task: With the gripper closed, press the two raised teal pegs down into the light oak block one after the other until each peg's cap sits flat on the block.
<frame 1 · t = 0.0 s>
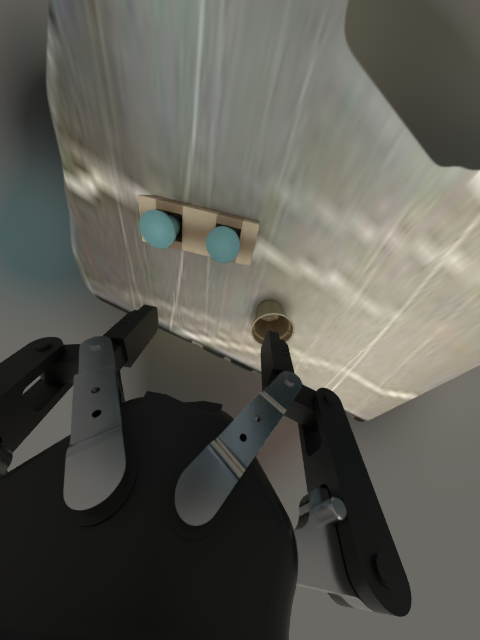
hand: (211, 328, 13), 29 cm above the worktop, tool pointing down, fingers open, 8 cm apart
oak block: (206, 228, 36), on the worktop
teal peg 2: (166, 227, 29), point 8 cm above the worktop, slide at 4.0 cm
flower pot: (269, 310, 46), on the worktop
teal peg 1: (225, 241, 30), point 8 cm above the worktop, slide at 4.0 cm
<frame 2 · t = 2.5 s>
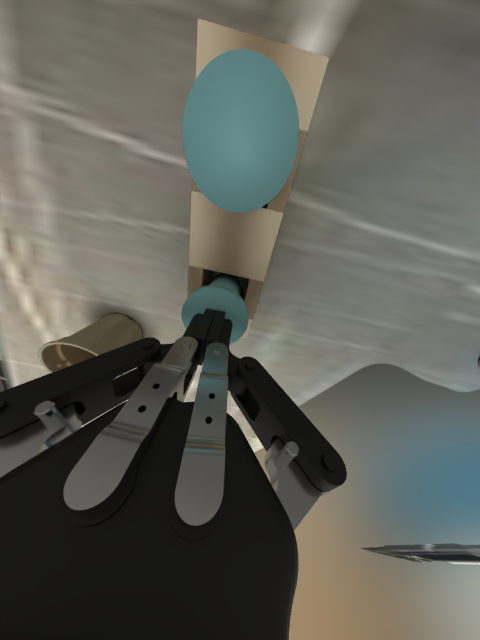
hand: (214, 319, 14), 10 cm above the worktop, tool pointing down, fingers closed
oak block: (237, 231, 20), on the worktop
teal peg 2: (243, 159, 11), point 8 cm above the worktop, slide at 4.0 cm
flower pot: (124, 328, 29), on the worktop
teal peg 1: (221, 300, 17), point 7 cm above the worktop, slide at 3.7 cm, touching gripper
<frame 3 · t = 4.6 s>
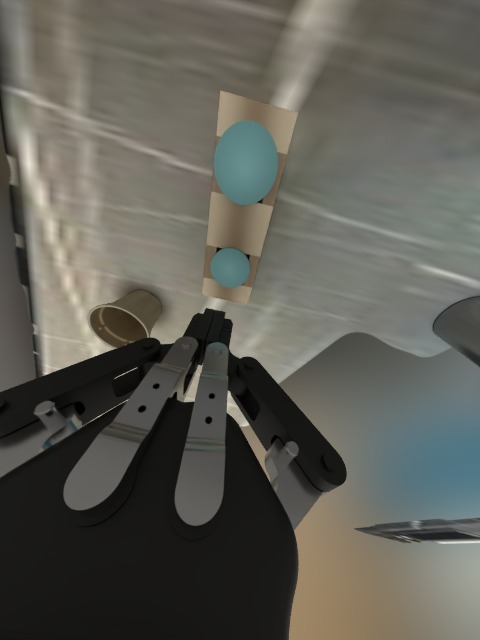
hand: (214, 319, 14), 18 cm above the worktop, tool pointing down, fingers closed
oak block: (240, 221, 26), on the worktop
teal peg 2: (246, 172, 17), point 8 cm above the worktop, slide at 4.0 cm
flower pot: (146, 303, 35), on the worktop
teal peg 1: (232, 262, 26), point 3 cm above the worktop, slide at 0.0 cm, touching oak block
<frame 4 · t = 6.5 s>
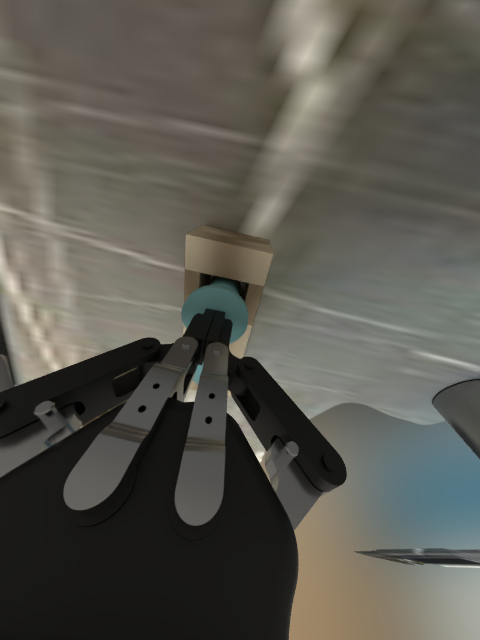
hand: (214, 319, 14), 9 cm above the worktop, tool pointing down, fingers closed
oak block: (223, 311, 24), on the worktop
teal peg 2: (221, 300, 17), point 6 cm above the worktop, slide at 2.6 cm, touching gripper
teal peg 1: (214, 354, 24), point 3 cm above the worktop, slide at 0.0 cm, touching oak block
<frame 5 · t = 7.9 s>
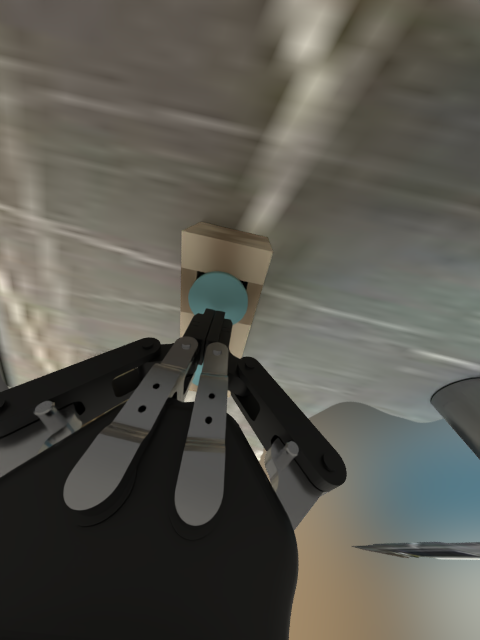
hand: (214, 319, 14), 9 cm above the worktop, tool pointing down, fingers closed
oak block: (221, 310, 24), on the worktop
teal peg 2: (223, 287, 18), point 3 cm above the worktop, slide at 0.0 cm, touching oak block
teal peg 1: (212, 354, 24), point 3 cm above the worktop, slide at 0.0 cm, touching oak block
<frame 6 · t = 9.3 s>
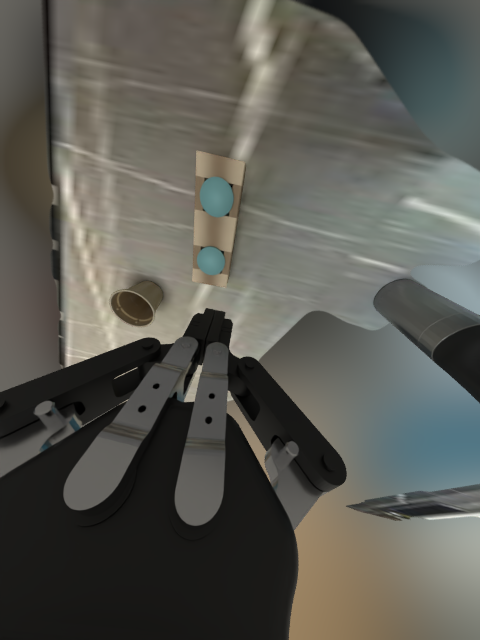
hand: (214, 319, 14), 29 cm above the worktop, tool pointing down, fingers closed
oak block: (219, 227, 36), on the worktop
teal peg 2: (219, 197, 30), point 3 cm above the worktop, slide at 0.0 cm, touching oak block
flower pot: (151, 292, 45), on the worktop
teal peg 1: (213, 256, 36), point 3 cm above the worktop, slide at 0.0 cm, touching oak block
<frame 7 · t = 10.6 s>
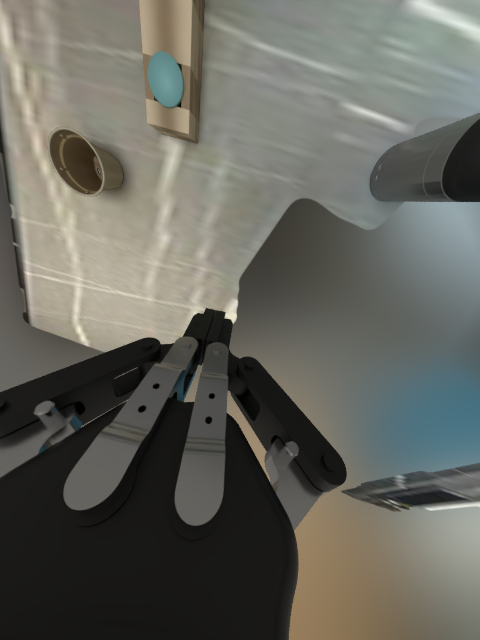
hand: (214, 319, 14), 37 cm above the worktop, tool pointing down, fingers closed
oak block: (180, 56, 30), on the worktop
flower pot: (109, 171, 39), on the worktop
teal peg 1: (173, 91, 29), point 3 cm above the worktop, slide at 0.0 cm, touching oak block
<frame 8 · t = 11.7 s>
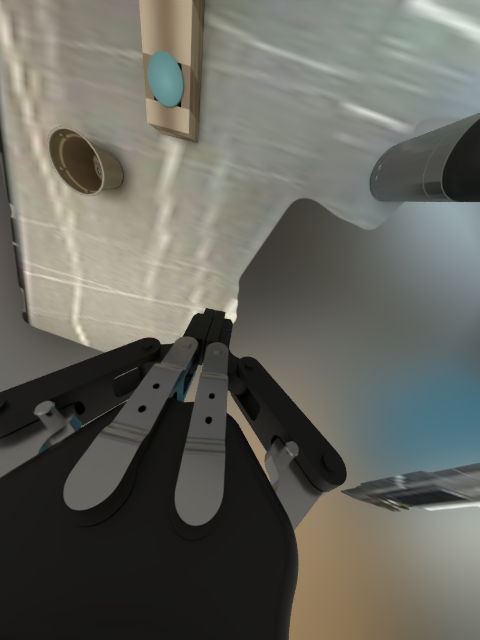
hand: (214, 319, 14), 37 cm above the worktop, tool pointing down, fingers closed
oak block: (180, 55, 30), on the worktop
flower pot: (109, 170, 39), on the worktop
teal peg 1: (173, 90, 29), point 3 cm above the worktop, slide at 0.0 cm, touching oak block
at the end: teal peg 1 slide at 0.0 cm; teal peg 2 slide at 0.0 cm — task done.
